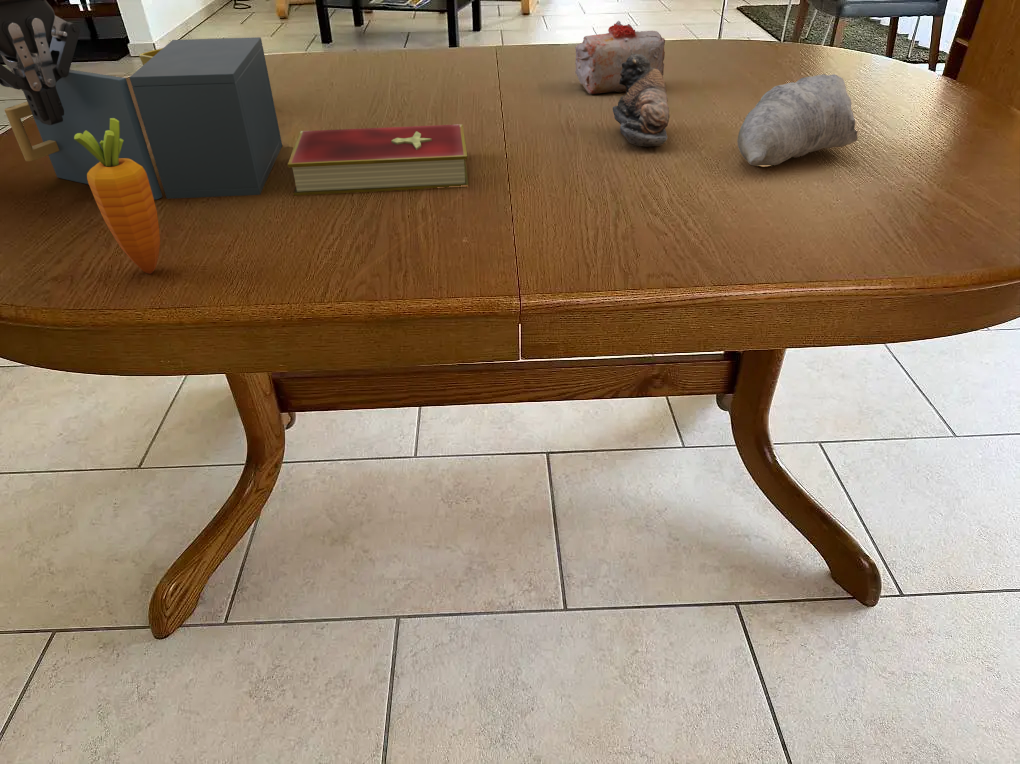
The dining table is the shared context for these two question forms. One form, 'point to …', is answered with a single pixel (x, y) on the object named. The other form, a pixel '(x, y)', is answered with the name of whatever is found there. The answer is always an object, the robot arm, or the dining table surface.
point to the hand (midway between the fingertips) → (52, 122)
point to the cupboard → (209, 116)
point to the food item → (615, 56)
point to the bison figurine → (642, 103)
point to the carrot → (124, 198)
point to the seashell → (798, 121)
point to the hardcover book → (379, 159)
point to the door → (86, 126)
